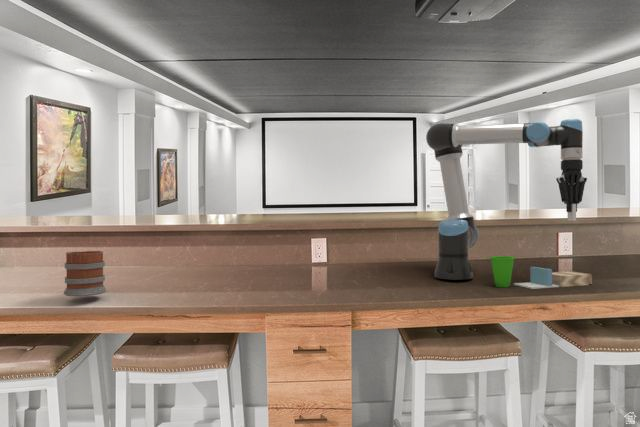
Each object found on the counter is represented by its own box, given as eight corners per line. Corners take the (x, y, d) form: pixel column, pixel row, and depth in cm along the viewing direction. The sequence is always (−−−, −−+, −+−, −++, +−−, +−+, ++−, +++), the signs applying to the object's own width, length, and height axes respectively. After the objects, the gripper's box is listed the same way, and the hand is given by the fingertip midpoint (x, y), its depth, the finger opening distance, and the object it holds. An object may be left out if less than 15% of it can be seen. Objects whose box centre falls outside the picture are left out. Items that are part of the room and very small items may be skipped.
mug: (55, 296, 172) (55, 253, 172) (81, 288, 192) (80, 249, 191) (96, 296, 173) (96, 253, 173) (117, 287, 192) (117, 248, 192)
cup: (488, 287, 185) (488, 257, 185) (491, 283, 194) (490, 255, 194) (514, 288, 182) (514, 258, 182) (515, 285, 190) (515, 256, 190)
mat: (532, 288, 181) (532, 287, 181) (513, 284, 191) (513, 283, 191) (559, 287, 185) (559, 285, 185) (539, 283, 194) (539, 281, 194)
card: (552, 285, 184) (547, 286, 184) (534, 282, 193) (530, 282, 192) (552, 269, 184) (547, 269, 184) (534, 266, 193) (530, 267, 192)
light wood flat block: (560, 287, 185) (560, 276, 185) (540, 283, 194) (540, 273, 194) (591, 284, 189) (591, 274, 189) (571, 281, 199) (571, 271, 199)
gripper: (565, 158, 187) (565, 221, 187) (592, 159, 191) (593, 220, 191) (550, 160, 194) (550, 220, 194) (577, 161, 198) (577, 220, 198)
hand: (571, 220), depth 193 cm, fingers closed
